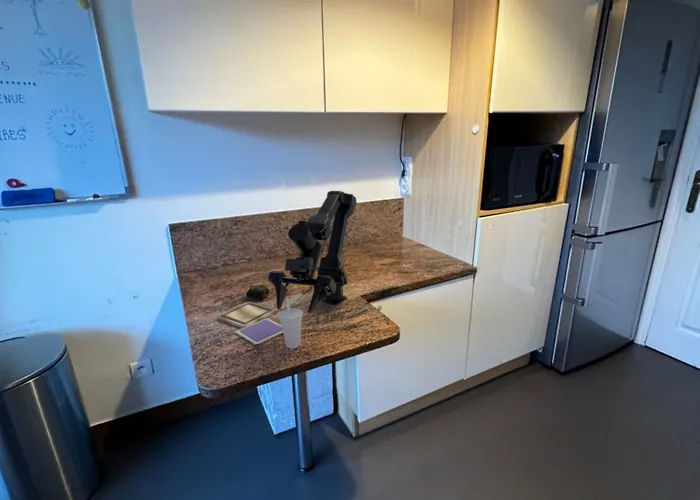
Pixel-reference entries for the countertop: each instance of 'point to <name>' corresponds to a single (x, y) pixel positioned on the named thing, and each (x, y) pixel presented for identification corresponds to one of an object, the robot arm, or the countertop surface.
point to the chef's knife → (298, 296)
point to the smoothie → (291, 325)
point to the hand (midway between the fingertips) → (293, 310)
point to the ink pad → (260, 331)
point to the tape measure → (257, 292)
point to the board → (246, 314)
